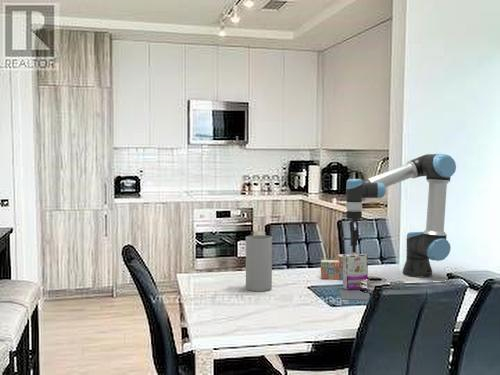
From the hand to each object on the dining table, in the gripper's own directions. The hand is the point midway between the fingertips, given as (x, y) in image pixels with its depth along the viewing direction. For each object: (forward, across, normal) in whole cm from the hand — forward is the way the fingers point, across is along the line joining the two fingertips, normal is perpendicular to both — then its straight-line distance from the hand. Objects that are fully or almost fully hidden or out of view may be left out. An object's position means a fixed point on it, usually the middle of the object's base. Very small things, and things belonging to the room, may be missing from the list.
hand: (353, 258), depth 250 cm
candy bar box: (+14, +6, 0) cm, 15 cm away
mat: (+14, +18, 0) cm, 22 cm away
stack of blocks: (+14, -16, -4) cm, 21 cm away
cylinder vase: (+14, +10, -46) cm, 49 cm away
